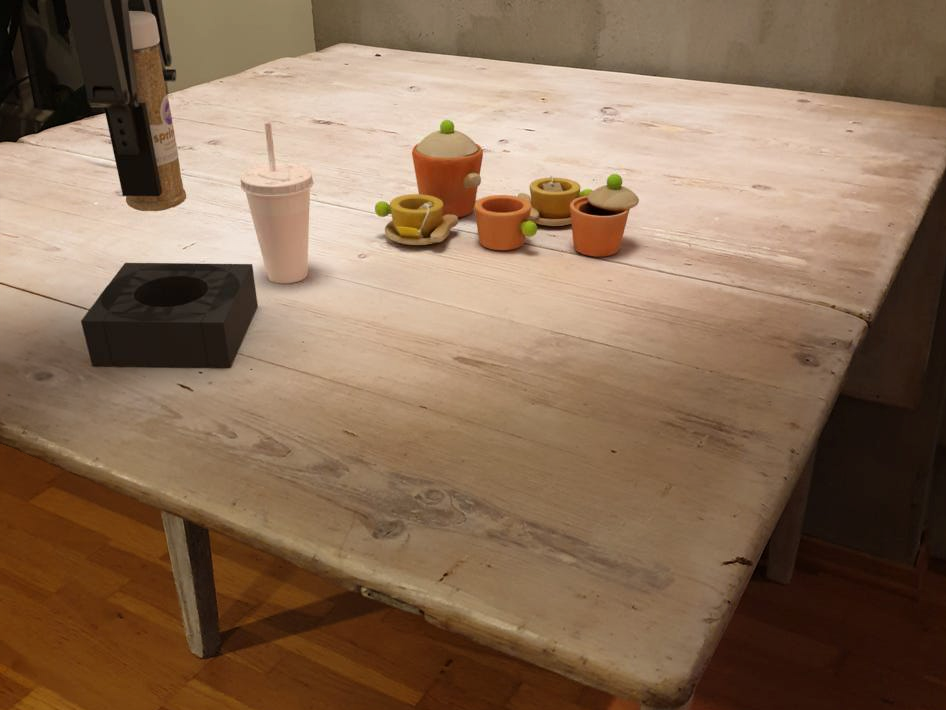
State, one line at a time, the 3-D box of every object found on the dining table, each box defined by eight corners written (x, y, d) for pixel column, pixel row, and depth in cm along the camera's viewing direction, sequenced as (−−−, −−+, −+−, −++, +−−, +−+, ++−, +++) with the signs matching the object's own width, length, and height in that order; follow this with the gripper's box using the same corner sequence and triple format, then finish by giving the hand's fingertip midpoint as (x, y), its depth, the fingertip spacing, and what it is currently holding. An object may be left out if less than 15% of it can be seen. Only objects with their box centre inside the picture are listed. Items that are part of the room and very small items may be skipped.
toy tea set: (368, 248, 96) (362, 152, 91) (403, 195, 109) (400, 107, 103) (632, 268, 93) (642, 169, 87) (636, 210, 105) (646, 121, 100)
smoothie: (302, 256, 95) (287, 109, 87) (334, 278, 90) (321, 127, 82) (241, 271, 91) (220, 121, 84) (271, 295, 87) (252, 140, 79)
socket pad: (91, 366, 77) (80, 320, 74) (133, 304, 86) (124, 262, 83) (230, 367, 76) (223, 322, 74) (258, 305, 86) (252, 263, 83)
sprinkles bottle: (188, 210, 73) (155, 19, 66) (125, 216, 72) (84, 22, 65) (186, 190, 77) (154, 6, 69) (126, 195, 76) (87, 9, 68)
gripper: (95, -179, 53) (170, 226, 66) (179, -187, 68) (227, 147, 81) (-41, -180, 53) (61, 225, 66) (72, -188, 68) (137, 146, 81)
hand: (152, 181), depth 74 cm, fingers closed on sprinkles bottle, 4 cm apart
